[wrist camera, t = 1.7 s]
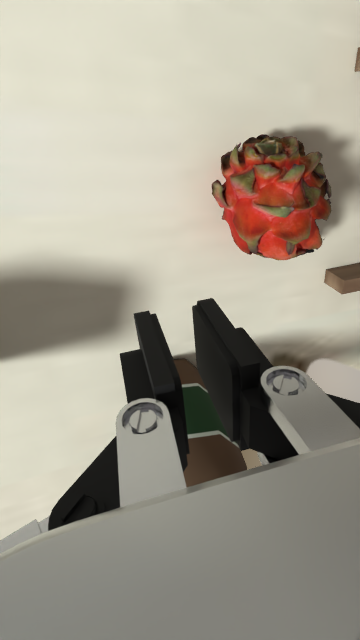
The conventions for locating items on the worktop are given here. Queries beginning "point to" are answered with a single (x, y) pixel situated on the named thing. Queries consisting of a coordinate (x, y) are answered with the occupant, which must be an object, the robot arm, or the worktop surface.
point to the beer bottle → (205, 432)
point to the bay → (350, 275)
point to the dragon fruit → (273, 197)
